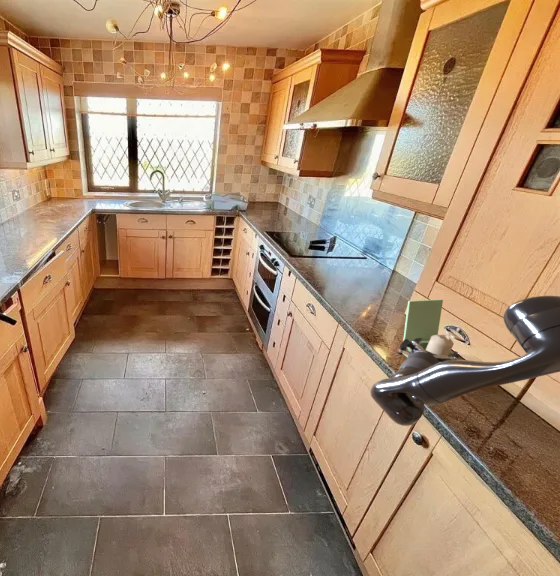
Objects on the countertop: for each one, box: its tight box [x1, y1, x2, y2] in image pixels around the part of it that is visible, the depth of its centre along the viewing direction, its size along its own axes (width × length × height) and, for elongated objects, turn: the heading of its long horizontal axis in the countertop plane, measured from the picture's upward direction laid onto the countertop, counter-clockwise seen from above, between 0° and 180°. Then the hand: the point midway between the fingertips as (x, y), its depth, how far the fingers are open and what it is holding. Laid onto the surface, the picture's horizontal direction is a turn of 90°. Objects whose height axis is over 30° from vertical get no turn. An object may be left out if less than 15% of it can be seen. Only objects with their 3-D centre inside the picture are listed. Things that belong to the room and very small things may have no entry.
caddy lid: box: [402, 298, 444, 342], centre depth 103 cm, size 14×11×4 cm
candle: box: [426, 334, 455, 356], centre depth 96 cm, size 6×6×10 cm
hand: (437, 347), depth 91 cm, fingers open, 8 cm apart
